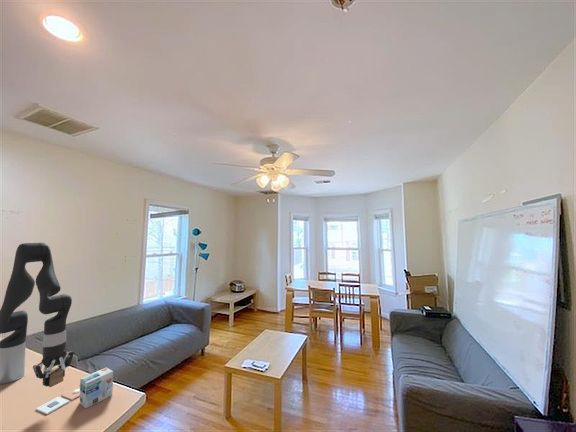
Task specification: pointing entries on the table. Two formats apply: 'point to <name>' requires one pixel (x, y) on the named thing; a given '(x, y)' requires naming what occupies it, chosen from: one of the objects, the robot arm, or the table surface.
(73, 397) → the mug tile
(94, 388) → the light bulb box
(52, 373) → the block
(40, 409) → the box tile
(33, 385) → the table surface
